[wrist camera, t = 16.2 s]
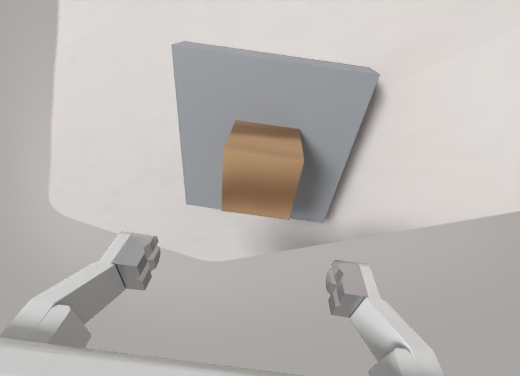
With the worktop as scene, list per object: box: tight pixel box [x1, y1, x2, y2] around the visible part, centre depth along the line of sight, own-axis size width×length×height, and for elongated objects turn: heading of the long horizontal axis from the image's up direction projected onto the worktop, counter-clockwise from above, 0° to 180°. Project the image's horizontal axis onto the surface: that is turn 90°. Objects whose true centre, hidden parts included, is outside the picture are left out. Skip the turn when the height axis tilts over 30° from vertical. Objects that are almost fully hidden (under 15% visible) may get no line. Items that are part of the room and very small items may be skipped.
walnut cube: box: [222, 120, 304, 220], centre depth 18 cm, size 5×5×5 cm
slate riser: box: [172, 41, 380, 223], centre depth 21 cm, size 14×14×2 cm
